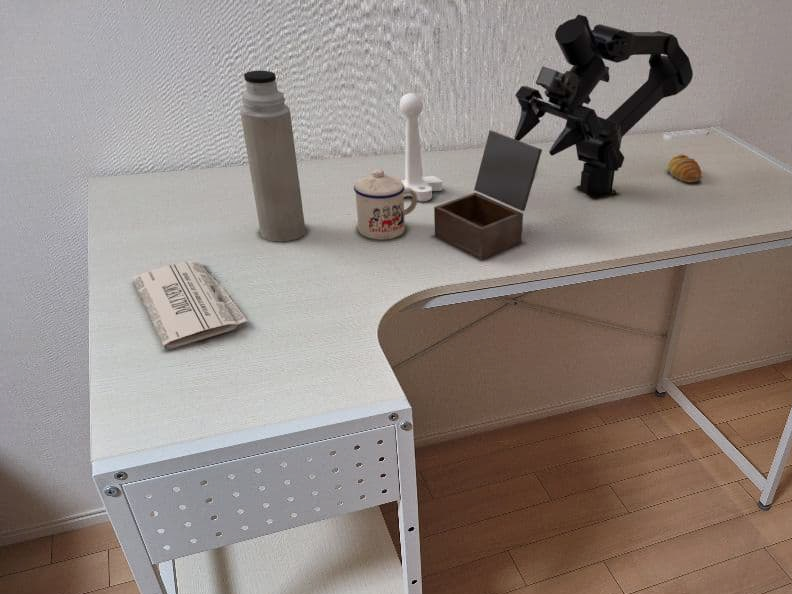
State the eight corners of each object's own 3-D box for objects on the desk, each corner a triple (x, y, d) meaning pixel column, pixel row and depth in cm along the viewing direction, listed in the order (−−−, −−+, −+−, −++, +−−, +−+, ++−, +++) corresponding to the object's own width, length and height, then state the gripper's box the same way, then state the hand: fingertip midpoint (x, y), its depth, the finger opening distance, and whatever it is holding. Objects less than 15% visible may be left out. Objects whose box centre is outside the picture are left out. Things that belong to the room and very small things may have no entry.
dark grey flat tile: (539, 149, 137) (542, 149, 137) (489, 130, 143) (492, 130, 143) (521, 210, 141) (524, 211, 141) (473, 189, 147) (476, 190, 148)
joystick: (432, 184, 164) (430, 87, 152) (450, 196, 160) (449, 97, 148) (385, 193, 159) (379, 93, 147) (402, 207, 154) (398, 105, 142)
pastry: (707, 183, 175) (711, 167, 173) (681, 185, 173) (684, 169, 171) (689, 168, 182) (692, 152, 180) (663, 170, 180) (666, 154, 178)
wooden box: (481, 260, 138) (482, 229, 135) (434, 236, 145) (434, 206, 141) (521, 243, 145) (523, 213, 141) (474, 221, 151) (475, 192, 148)
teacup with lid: (369, 244, 140) (364, 183, 133) (349, 225, 146) (344, 165, 139) (428, 232, 146) (426, 173, 139) (407, 214, 152) (405, 156, 145)
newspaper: (251, 329, 116) (247, 316, 114) (168, 357, 111) (162, 343, 109) (211, 264, 130) (206, 251, 129) (135, 286, 126) (130, 273, 124)
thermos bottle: (277, 219, 146) (253, 63, 129) (313, 228, 144) (294, 71, 127) (251, 236, 140) (223, 75, 123) (289, 245, 138) (266, 83, 121)
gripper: (528, 40, 145) (480, 105, 144) (603, 63, 135) (552, 133, 134) (550, 82, 154) (505, 143, 153) (622, 106, 145) (575, 171, 144)
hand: (532, 146), depth 146 cm, fingers open, 9 cm apart
